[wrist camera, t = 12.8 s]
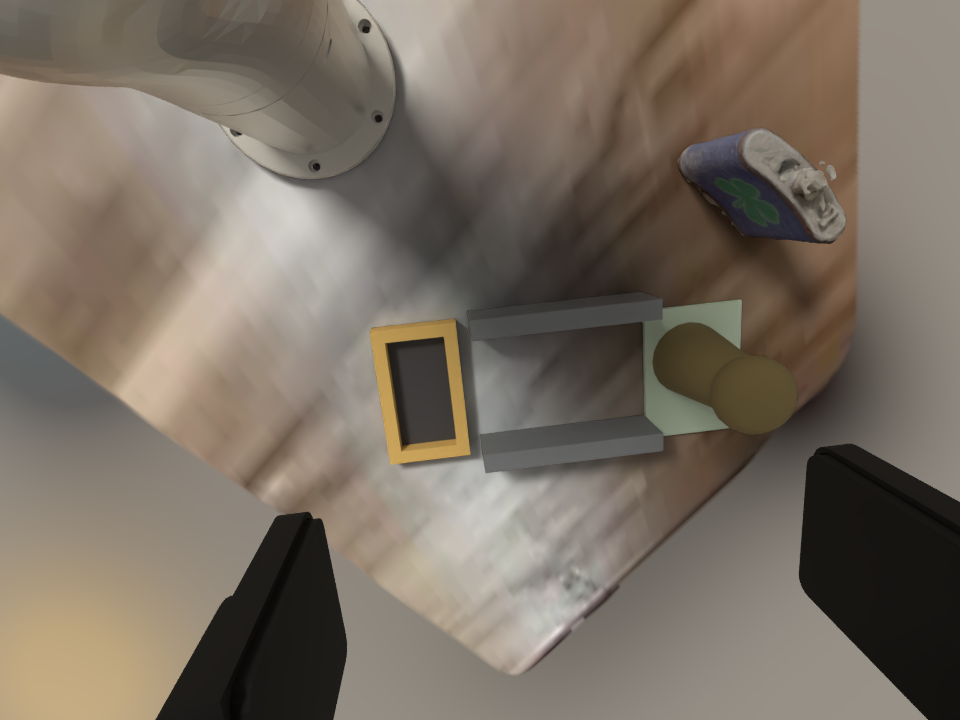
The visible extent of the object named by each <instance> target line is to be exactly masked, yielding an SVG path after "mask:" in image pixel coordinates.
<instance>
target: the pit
mask: <svg viewBox="0 0 960 720" xmlns="http://www.w3.org/2000/svg"><path fill="white" fill-rule="evenodd" d="M370 338H371V344H372V351H373V357H374V363H375V370H376V376H377V382H378V389H379V395H380V401H381V408H382V414H383V420H384V427H385V433H386V439H387V446H388V452H389V458H390V464H398V463H407V462H415V461H423V460H431V459H439V458H447V457H456V456H464V455H470V446H469V437H468V428H467V420H466V411H465V402H464V393H463V384H462V375H461V366H460V357H459V349H458V340H457V331H456V322H455V319H447V320H438V321H429V322H420V323H411V324H402V325H393V326H384V327H375V328H372V329H371V330H370Z"/></svg>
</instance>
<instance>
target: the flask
mask: <svg viewBox="0 0 960 720" xmlns="http://www.w3.org/2000/svg"><path fill="white" fill-rule="evenodd" d="M819 163H820V165H824V164H825V162H823V161H820V162H819ZM678 166H679V169H680V171H681V173H682V175H683V176H684V177H685V178H686V181H688V182H689V183H691V182H692V183H693V184H695V185H696V187H697V188H698V189H699V190H700V191H701V192H702V195H703V196H704V197H705V198H706V201H709V202H710V204H713V205H714V204H715V206H718V207H720V208H721V210H722V214H724V215H726V216H728V217H729V218H730V220H731V222H732V224H731V225H734V226H735V228H736V229H737V230H738V231H739V232H740V233H741V235H742V236H747V237H766V238H772V239H778V240H796V241H802V242H810V243H824V244H826V243H827V244H831V243H833V242H834V241H835V240H836V239H837V238H838V237H839V236H840V234H842V232H843V230H844V228H845V225H846V222H847V221H846V215H845V213H844V211H843V209H842V207H841V206H840V204H839V203H838V201H837V199H836V197H835V195H834V193H833V191H832V190H831V188H830V187H829V185H828V184H827V182H826V181H827V179H826V177H824V173H823V171H819V170H818V169H816V168H815V167H814V166H813V165H812V164H811V163H810V162H809V161H808V160H807V159H806V158H805V157H804V156H803V155H802V154H800V153H799V152H798V151H797V150H796V149H795V148H793V147H792V146H791V145H789V144H788V143H787V142H786V141H785V140H783V139H782V138H781V137H779V136H778V135H776V134H774V133H773V132H772V131H771V130H767V129H765V128H762V127H760V128H755V129H752V130H748V131H745V132H742V133H738V134H734V135H731V136H727V137H722V138H718V139H716V140H713V141H709V142H704V143H700V144H694V145H691V146H689V147H688V148H686V149H685V150H684V151H683V152H682V153H681V155H680V157H679V159H678ZM826 172H827V173H828V175H829V176H830V181H832V180H834V179H835V178H836V172H835V169H834V167H833V166H832V165H828V166H827V168H826Z"/></svg>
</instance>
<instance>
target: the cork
mask: <svg viewBox="0 0 960 720" xmlns="http://www.w3.org/2000/svg"><path fill="white" fill-rule="evenodd" d="M652 364H653V370H654V374H655V376H656V377H657V379H658V381H659V382H660V383H661V384H662V385H663V386H664V387H665V388H667V389H669V390H671V391H673V392H676V393H678V394H680V395H683V396H685V397H688V398H690V399H692V400H695V401H697V402H699V403H702V404H704V405H707V406H709V407H711V408H713V410H714V412H715V414H716V416H717V417H718V419H719V420H721V421H722V422H723V423H724V424H725V425H726V426H728V427H729V428H730V429H732V430H735V431H738V432H740V433H744V434H753V435H759V434H763V433H766V432H770V431H773V430H775V429H777V428H778V427H780V426H782V425H783V424H784V423H785V422H786V421H787V420H788V419H789V418H790V417H791V415H792V413H793V411H794V410H795V408H796V404H797V399H798V393H797V385H796V382H795V380H794V378H793V376H792V374H791V373H790V372H789V371H788V370H787V369H786V368H785V367H784V366H783V365H782V364H781V363H780V362H778V361H775V360H773V359H770V358H768V357H765V356H758V355H747V354H746V353H745V352H743V351H742V350H740V349H739V348H738V347H736V346H735V345H734V344H732V343H731V342H730V341H728V340H727V339H726V338H724V337H723V336H722V335H720V334H719V333H718V332H716V331H715V330H714V329H712V328H711V327H709V326H707V325H704V324H702V323H695V322H688V323H684V324H680V325H677V326H675V327H674V328H672V329H670V330H669V331H667V332H666V333H665V334H664V336H663V337H662V338H661V339H660V340H659V342H658V344H657V346H656V348H655V350H654V354H653V360H652Z"/></svg>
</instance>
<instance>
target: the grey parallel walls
mask: <svg viewBox="0 0 960 720" xmlns="http://www.w3.org/2000/svg"><path fill="white" fill-rule="evenodd" d="M467 316H468V325H469V332H470V336H471V339H472V341H477V340H486V339H494V338H503V337H512V336H521V335H530V334H539V333H548V332H556V331H565V330H574V329H583V328H592V327H601V326H610V325H618V324H627V323H636V322H645V321H654V320H663V301H662V299H661V298H658V297H655V296H653V295H650V294H647V293H644V292H634V293H625V294H616V295H607V296H598V297H589V298H580V299H571V300H562V301H553V302H544V303H535V304H526V305H516V306H507V307H498V308H489V309H480V310H471V311H467ZM480 438H481V448H482V455H483V460H484V466H485V471H486V473H490V472H498V471H506V470H514V469H522V468H530V467H538V466H546V465H555V464H563V463H571V462H579V461H587V460H595V459H603V458H611V457H619V456H627V455H635V454H643V453H651V452H659V451H663V433H662V432H661V431H660V430H659V429H658V428H657V427H656V426H655V425H654V424H653V423H652V422H651V421H650V420H649V419H648V418H647V417H646V416H645V415H637V416H629V417H621V418H613V419H604V420H596V421H588V422H580V423H571V424H563V425H555V426H547V427H538V428H530V429H522V430H514V431H505V432H497V433H489V434H480Z"/></svg>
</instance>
